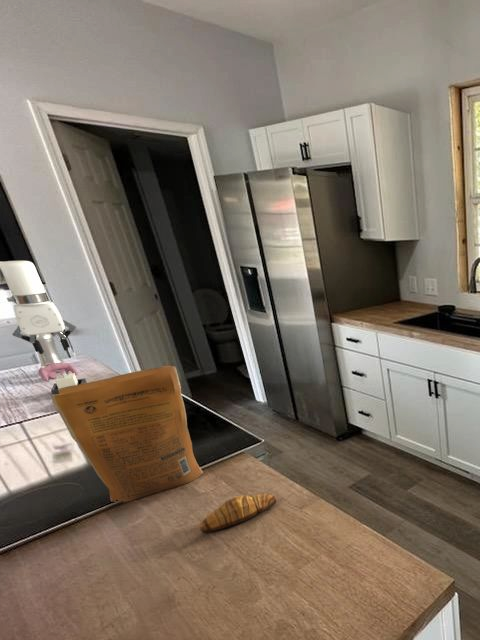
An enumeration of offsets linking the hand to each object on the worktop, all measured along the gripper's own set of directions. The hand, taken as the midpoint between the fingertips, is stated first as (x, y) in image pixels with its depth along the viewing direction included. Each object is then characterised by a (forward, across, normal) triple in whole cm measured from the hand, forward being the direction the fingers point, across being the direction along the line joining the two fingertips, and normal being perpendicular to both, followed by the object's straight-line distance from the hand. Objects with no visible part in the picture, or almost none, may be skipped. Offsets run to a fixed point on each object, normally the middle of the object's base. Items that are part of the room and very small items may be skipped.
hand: (54, 351), depth 143 cm
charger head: (+14, 0, 0) cm, 14 cm away
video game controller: (+16, -5, +25) cm, 30 cm away
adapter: (+15, 0, 0) cm, 15 cm away
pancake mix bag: (+16, +21, -97) cm, 100 cm away
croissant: (+16, +33, -121) cm, 126 cm away
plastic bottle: (+16, -7, +35) cm, 39 cm away
